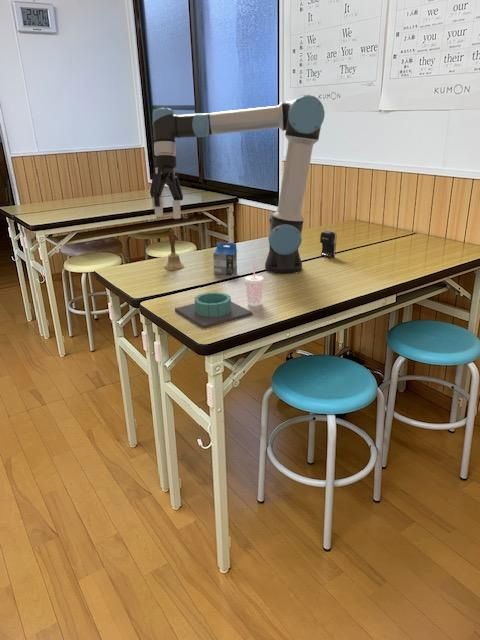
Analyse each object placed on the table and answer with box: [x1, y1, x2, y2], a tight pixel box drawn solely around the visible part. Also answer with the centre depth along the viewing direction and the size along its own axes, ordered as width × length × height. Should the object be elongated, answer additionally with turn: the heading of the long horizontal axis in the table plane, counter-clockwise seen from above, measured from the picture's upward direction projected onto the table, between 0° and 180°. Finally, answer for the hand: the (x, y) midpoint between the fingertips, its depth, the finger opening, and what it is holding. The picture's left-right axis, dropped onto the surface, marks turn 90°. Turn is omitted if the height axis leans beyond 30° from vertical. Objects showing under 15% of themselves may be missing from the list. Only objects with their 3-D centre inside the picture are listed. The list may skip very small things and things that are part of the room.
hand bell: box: [164, 229, 185, 271], centre depth 204 cm, size 8×8×16 cm
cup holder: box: [174, 291, 253, 329], centre depth 156 cm, size 18×18×5 cm
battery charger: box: [319, 230, 337, 258], centre depth 215 cm, size 7×4×11 cm, turn 38°
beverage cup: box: [244, 262, 265, 307], centre depth 162 cm, size 6×6×14 cm
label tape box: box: [212, 241, 238, 276], centre depth 195 cm, size 9×4×12 cm, turn 68°
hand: (168, 217), depth 175 cm, fingers open, 13 cm apart
